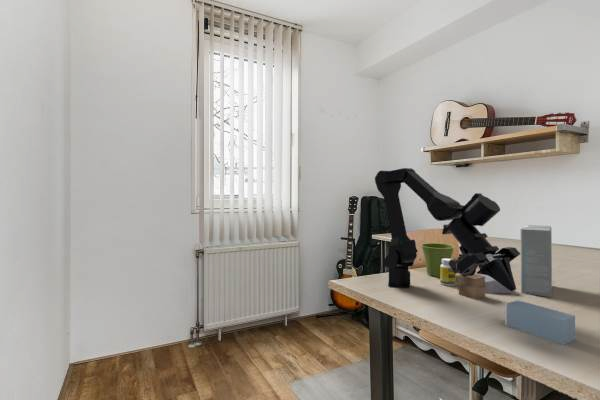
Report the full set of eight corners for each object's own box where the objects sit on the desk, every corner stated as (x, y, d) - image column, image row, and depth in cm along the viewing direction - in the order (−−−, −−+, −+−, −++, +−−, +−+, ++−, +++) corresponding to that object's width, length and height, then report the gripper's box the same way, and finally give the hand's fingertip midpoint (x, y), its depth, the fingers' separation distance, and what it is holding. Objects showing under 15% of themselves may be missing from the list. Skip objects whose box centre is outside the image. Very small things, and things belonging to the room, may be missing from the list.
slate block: (505, 303, 71) (563, 320, 61) (517, 299, 73) (575, 315, 63) (505, 324, 71) (563, 345, 61) (517, 320, 73) (575, 339, 63)
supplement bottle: (449, 286, 101) (449, 261, 101) (437, 283, 105) (437, 258, 105) (458, 284, 103) (458, 260, 103) (446, 281, 107) (446, 257, 107)
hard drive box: (523, 281, 106) (523, 224, 106) (551, 285, 101) (552, 225, 101) (519, 292, 94) (520, 228, 94) (552, 298, 89) (552, 229, 89)
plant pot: (414, 272, 120) (414, 243, 120) (438, 270, 123) (438, 242, 123) (435, 280, 108) (435, 248, 108) (462, 277, 112) (462, 247, 112)
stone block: (479, 299, 94) (514, 294, 93) (476, 283, 95) (510, 278, 93) (465, 289, 106) (496, 284, 105) (462, 275, 106) (493, 270, 105)
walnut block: (458, 294, 93) (458, 275, 93) (469, 292, 95) (469, 272, 95) (474, 299, 88) (474, 278, 88) (485, 296, 91) (485, 276, 91)
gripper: (470, 252, 90) (509, 300, 81) (426, 258, 82) (465, 313, 72) (498, 228, 83) (545, 278, 74) (454, 232, 75) (501, 289, 65)
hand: (513, 290), depth 71 cm, fingers closed
